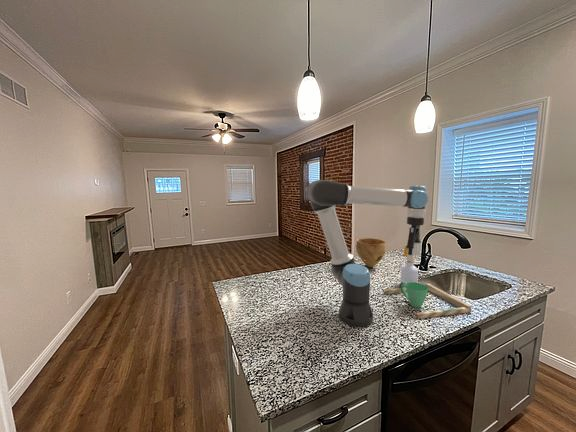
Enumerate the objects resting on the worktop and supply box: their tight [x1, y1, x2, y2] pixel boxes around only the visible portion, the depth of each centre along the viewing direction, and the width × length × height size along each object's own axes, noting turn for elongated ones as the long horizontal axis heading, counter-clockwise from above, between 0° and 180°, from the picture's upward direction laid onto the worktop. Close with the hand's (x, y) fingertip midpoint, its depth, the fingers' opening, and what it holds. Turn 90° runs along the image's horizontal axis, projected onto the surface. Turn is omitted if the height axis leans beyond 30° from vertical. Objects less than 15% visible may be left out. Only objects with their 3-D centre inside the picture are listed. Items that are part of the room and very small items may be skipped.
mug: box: [399, 281, 429, 309], centre depth 124 cm, size 15×10×10 cm
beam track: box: [383, 283, 472, 319], centre depth 126 cm, size 28×27×3 cm
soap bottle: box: [400, 246, 419, 288], centre depth 145 cm, size 9×9×25 cm
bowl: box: [355, 237, 387, 268], centre depth 179 cm, size 21×20×20 cm
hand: (412, 257), depth 126 cm, fingers open, 13 cm apart
